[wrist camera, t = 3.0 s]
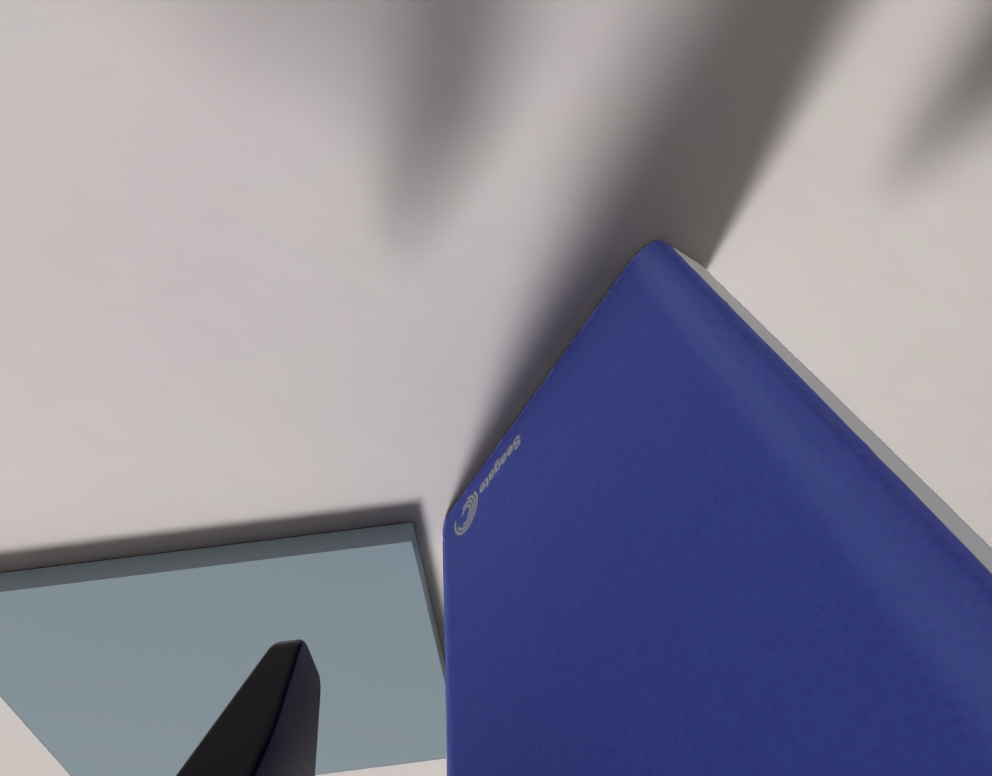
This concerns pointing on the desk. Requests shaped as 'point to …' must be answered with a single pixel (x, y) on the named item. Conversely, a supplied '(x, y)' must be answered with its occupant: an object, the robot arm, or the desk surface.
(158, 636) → the mat
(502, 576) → the hard drive
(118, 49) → the desk surface
